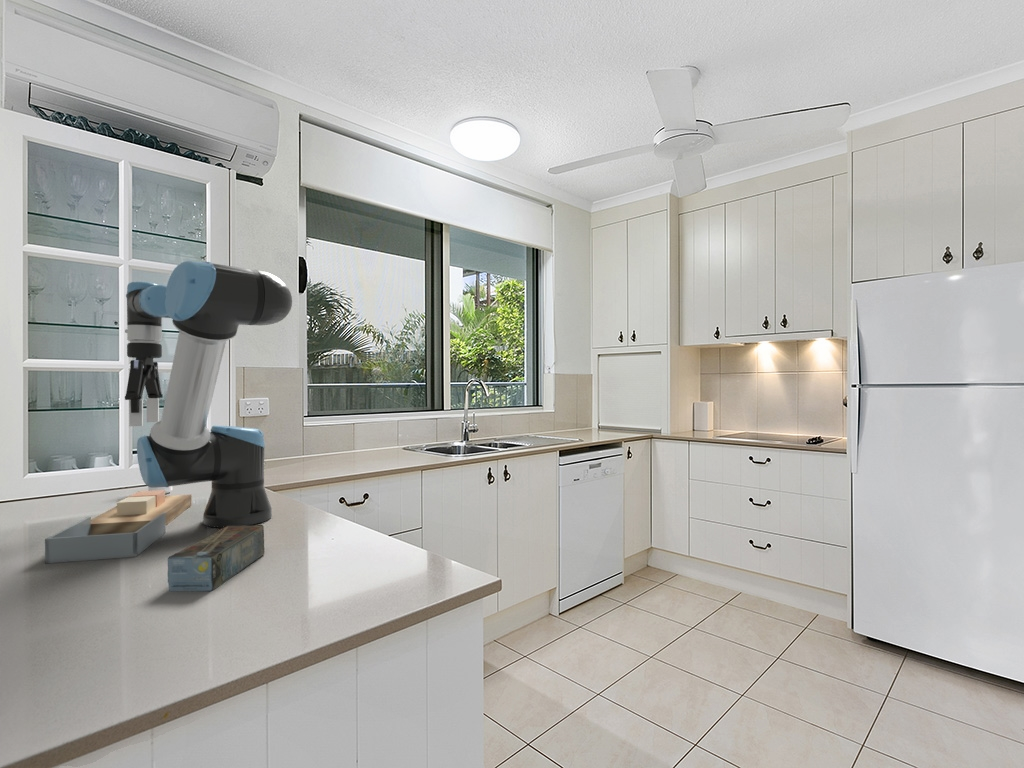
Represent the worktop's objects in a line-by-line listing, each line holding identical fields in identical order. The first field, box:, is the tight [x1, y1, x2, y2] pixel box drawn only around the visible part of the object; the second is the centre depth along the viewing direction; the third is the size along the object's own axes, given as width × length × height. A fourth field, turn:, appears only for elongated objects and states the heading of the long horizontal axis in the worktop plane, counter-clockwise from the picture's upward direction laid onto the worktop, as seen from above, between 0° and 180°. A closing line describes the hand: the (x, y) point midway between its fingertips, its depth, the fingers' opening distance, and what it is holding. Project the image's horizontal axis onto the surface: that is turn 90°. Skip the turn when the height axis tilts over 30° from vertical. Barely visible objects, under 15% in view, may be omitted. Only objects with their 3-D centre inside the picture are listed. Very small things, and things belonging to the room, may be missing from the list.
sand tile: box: [116, 496, 156, 516], centre depth 130 cm, size 6×6×3 cm
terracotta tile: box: [128, 490, 166, 507], centre depth 137 cm, size 6×6×3 cm
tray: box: [44, 513, 166, 564], centre depth 113 cm, size 15×17×5 cm
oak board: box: [91, 494, 192, 535], centre depth 134 cm, size 14×28×3 cm, turn 16°
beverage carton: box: [167, 524, 266, 592], centre depth 99 cm, size 8×19×7 cm, turn 179°
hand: (144, 424), depth 142 cm, fingers open, 13 cm apart
